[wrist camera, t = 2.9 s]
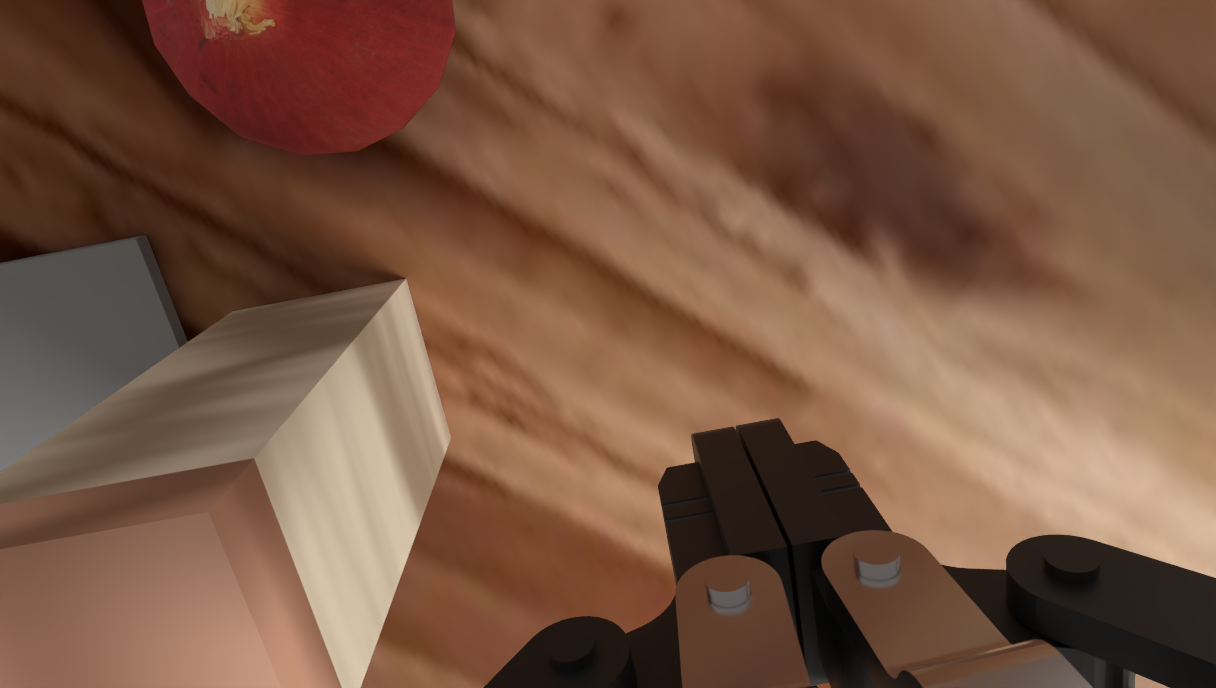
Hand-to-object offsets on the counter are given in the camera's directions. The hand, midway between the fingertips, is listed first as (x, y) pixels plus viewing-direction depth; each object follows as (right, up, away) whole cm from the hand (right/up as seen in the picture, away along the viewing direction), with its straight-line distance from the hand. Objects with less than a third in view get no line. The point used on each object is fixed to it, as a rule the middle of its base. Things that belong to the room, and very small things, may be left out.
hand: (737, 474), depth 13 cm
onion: (-8, +10, +6) cm, 15 cm away
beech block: (-10, +1, +9) cm, 14 cm away
